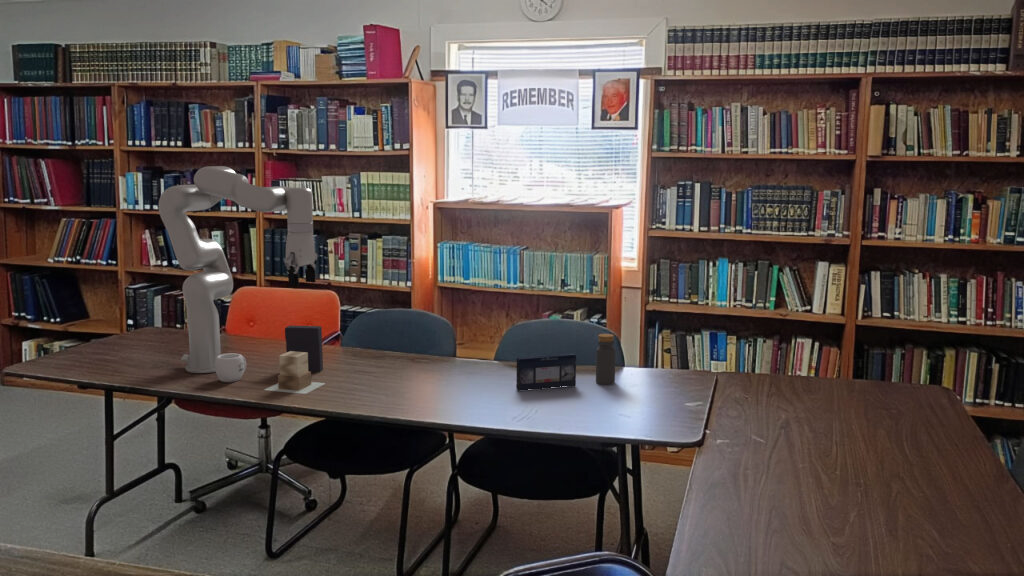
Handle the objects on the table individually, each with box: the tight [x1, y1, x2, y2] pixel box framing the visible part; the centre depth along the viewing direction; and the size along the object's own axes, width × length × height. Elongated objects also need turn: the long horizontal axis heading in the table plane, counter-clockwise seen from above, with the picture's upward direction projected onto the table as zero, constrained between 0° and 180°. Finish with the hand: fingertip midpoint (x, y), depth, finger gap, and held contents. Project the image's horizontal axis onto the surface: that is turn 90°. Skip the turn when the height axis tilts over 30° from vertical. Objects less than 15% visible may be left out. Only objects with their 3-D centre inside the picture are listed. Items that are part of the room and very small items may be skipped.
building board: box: [263, 381, 326, 395], centre depth 257 cm, size 14×12×1 cm
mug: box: [215, 352, 247, 383], centre depth 267 cm, size 12×8×8 cm
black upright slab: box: [284, 325, 324, 373], centre depth 275 cm, size 11×4×15 cm, turn 84°
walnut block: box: [277, 371, 312, 391], centre depth 257 cm, size 7×7×4 cm
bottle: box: [595, 333, 616, 386], centre depth 264 cm, size 6×6×15 cm
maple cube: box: [278, 351, 308, 377], centre depth 256 cm, size 6×6×6 cm
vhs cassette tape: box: [515, 353, 577, 391], centre depth 258 cm, size 18×3×10 cm, turn 105°
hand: (302, 284), depth 263 cm, fingers open, 9 cm apart
